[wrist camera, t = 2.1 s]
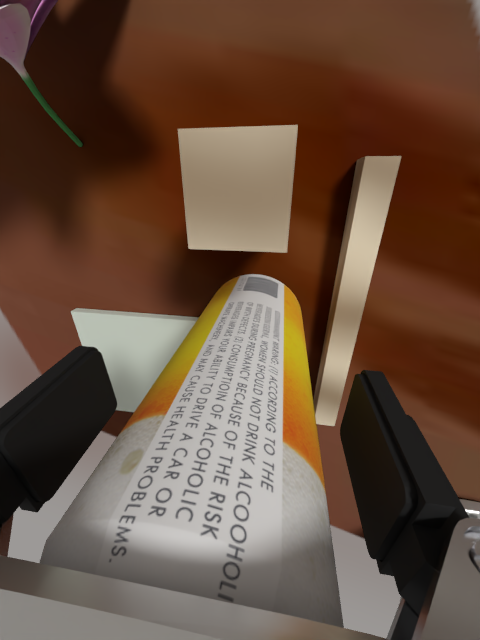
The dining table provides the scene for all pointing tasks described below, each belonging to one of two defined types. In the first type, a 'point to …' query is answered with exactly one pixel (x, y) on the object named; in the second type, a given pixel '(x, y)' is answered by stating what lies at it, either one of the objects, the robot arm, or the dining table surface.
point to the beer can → (217, 470)
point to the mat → (132, 347)
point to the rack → (285, 223)
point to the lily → (26, 43)
